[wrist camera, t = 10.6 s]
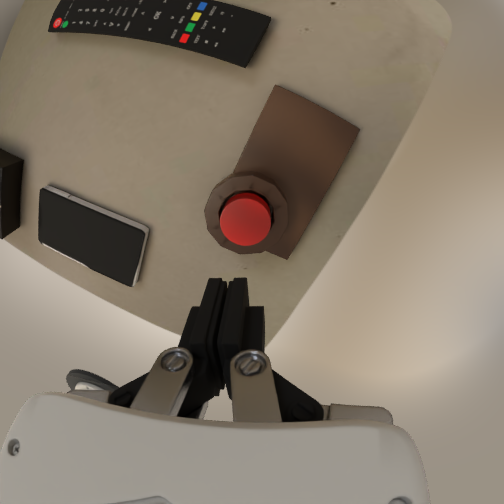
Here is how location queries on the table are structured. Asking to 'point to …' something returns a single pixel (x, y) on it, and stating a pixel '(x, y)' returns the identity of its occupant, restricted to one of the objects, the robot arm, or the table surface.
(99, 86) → the table surface
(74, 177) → the table surface
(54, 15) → the remote control
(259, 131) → the switch block
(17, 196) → the dimmer panel
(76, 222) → the smartphone
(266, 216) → the light button
